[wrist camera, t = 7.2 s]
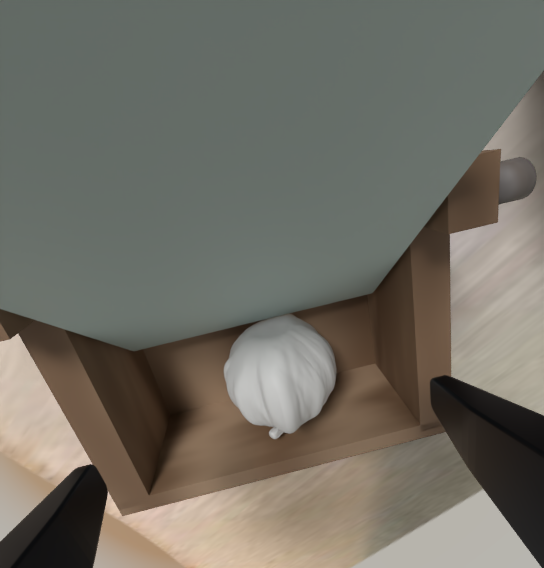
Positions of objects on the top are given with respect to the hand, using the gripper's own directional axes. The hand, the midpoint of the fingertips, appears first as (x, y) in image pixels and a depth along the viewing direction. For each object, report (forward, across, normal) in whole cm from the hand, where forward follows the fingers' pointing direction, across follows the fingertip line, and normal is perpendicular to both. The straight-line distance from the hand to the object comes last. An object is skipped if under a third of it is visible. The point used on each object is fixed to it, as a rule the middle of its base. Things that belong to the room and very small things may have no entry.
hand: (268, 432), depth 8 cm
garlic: (+6, 0, 0) cm, 6 cm away
